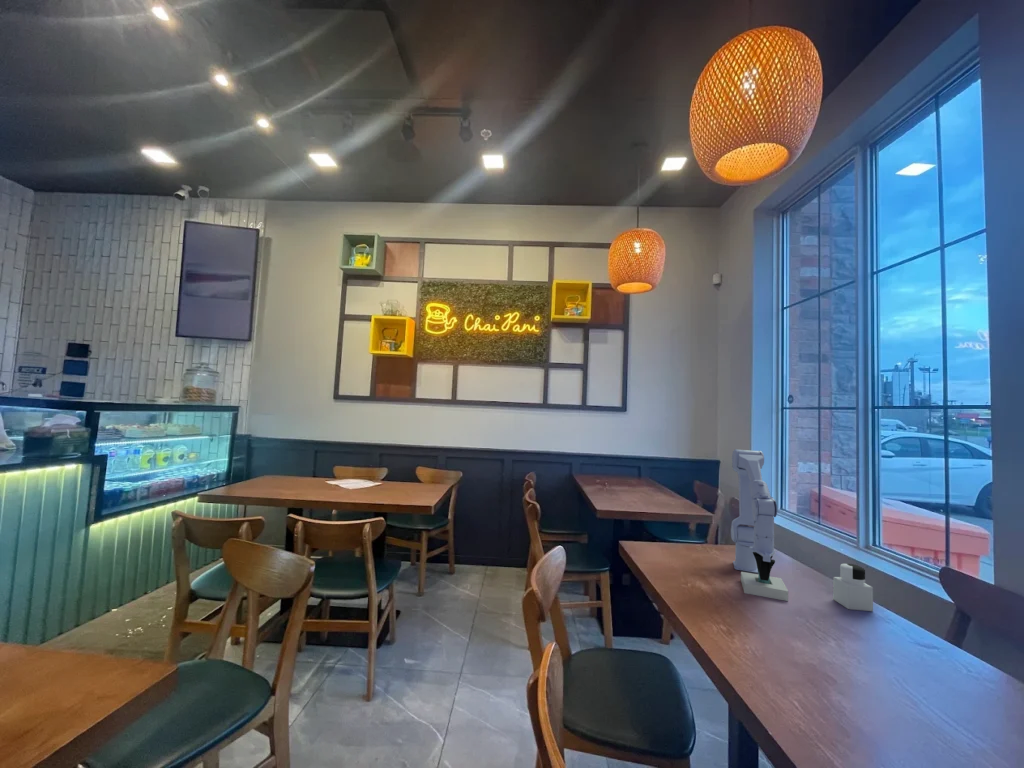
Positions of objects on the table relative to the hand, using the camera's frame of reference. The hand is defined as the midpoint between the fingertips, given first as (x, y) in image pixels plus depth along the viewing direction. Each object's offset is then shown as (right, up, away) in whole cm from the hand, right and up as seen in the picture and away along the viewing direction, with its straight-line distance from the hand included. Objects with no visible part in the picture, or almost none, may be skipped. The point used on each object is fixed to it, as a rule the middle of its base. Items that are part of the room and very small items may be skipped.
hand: (763, 578), depth 141 cm
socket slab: (0, -4, 0) cm, 4 cm away
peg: (0, -2, 0) cm, 2 cm away
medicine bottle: (+22, -5, -9) cm, 24 cm away
